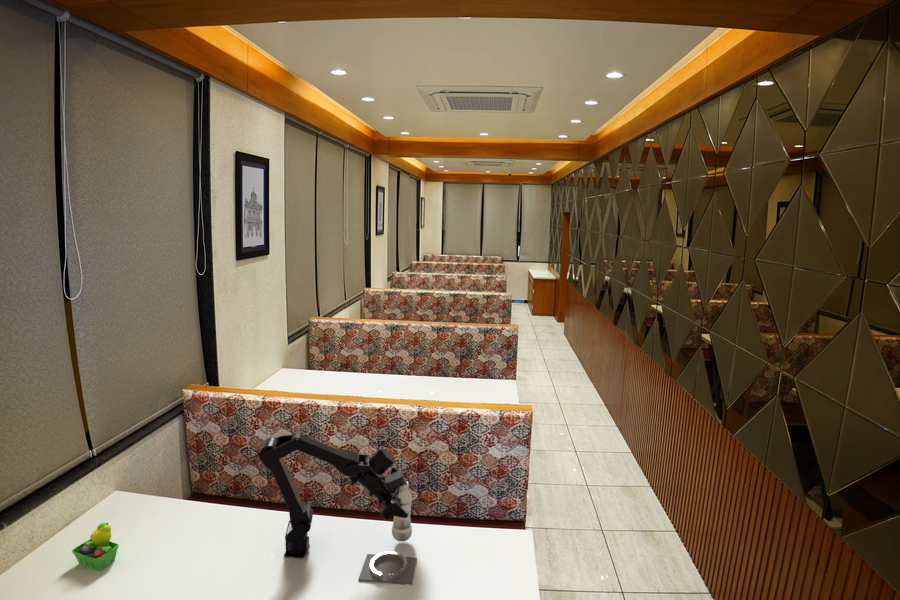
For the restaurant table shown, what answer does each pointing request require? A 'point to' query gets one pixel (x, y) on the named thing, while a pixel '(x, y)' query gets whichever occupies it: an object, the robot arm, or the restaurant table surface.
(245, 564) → the restaurant table surface
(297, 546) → the robot arm
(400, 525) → the plastic bottle
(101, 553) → the fruit basket
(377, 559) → the split ring
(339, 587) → the restaurant table surface
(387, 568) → the ring mat
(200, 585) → the restaurant table surface
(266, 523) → the restaurant table surface
